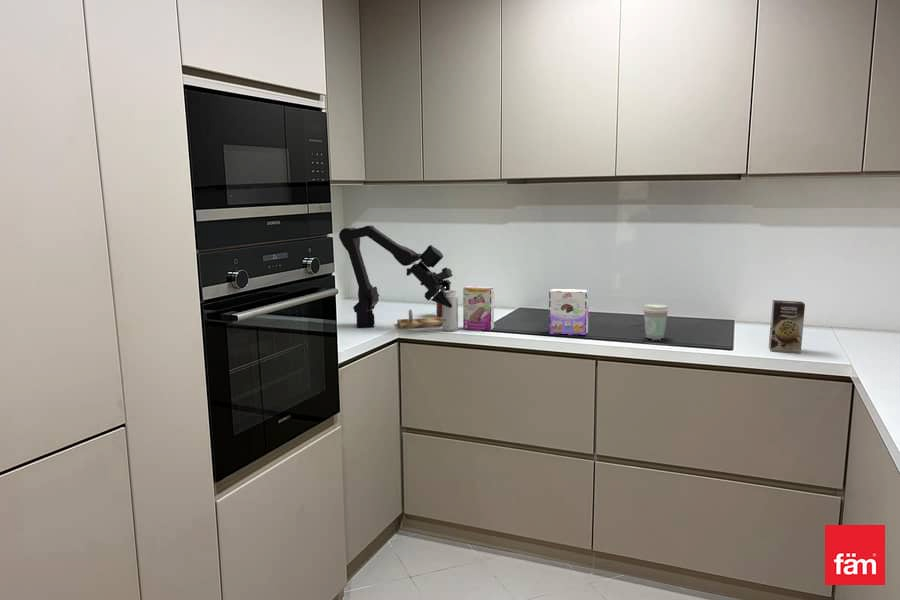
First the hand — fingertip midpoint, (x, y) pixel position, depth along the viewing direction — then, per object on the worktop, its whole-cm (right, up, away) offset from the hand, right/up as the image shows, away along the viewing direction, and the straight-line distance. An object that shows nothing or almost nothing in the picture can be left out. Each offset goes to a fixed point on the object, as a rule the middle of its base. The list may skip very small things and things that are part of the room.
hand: (453, 305), depth 250 cm
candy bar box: (+10, -9, +3) cm, 14 cm away
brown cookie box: (+108, -15, -34) cm, 114 cm away
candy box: (+42, -11, -6) cm, 44 cm away
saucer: (-17, -8, +11) cm, 22 cm away
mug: (-3, -6, +27) cm, 28 cm away
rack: (-13, -8, +12) cm, 19 cm away
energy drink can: (-1, -10, +2) cm, 10 cm away
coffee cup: (+71, -12, -16) cm, 74 cm away
